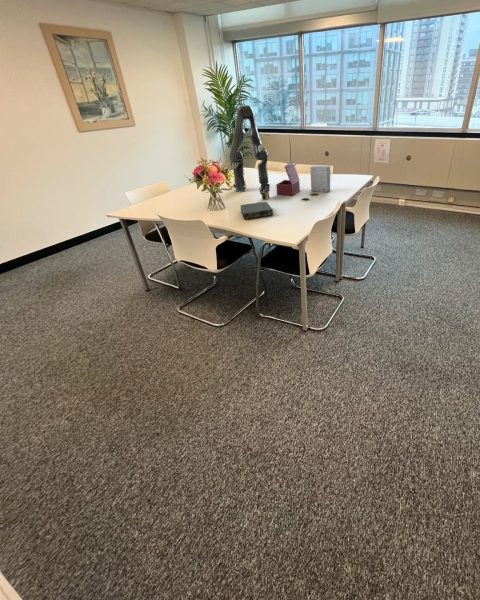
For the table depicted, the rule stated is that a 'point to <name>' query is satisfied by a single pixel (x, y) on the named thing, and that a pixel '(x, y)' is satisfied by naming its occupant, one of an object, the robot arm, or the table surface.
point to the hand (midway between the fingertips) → (265, 198)
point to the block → (266, 195)
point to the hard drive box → (320, 178)
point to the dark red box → (287, 188)
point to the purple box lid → (292, 173)
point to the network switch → (256, 210)
